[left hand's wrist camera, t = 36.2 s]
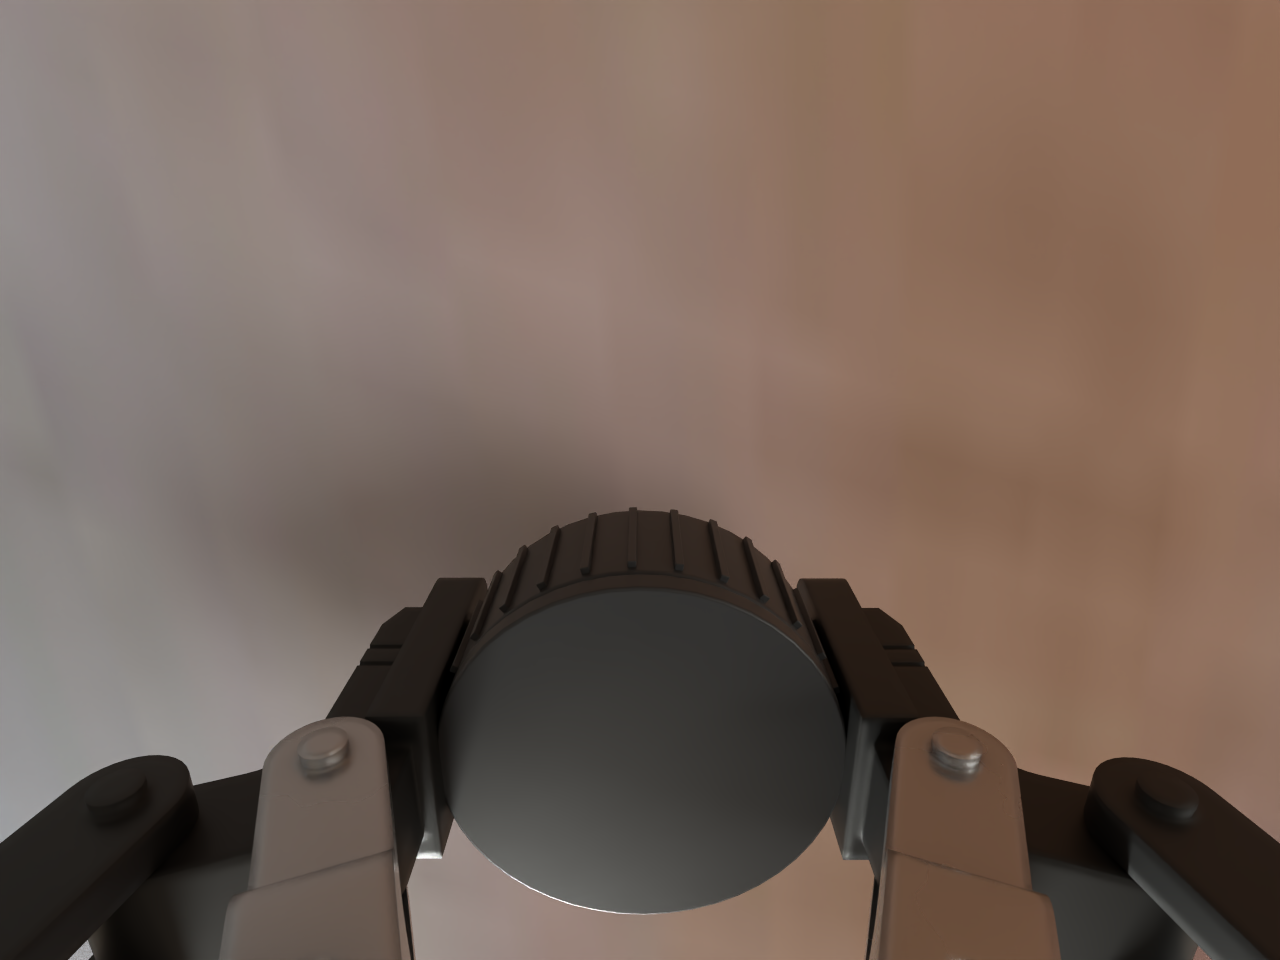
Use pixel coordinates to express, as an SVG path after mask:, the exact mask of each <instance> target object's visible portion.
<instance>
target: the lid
mask: <svg viewBox="0 0 1280 960" xmlns="http://www.w3.org/2000/svg"><path fill="white" fill-rule="evenodd" d="M450 672H453V673H455V676H454V678H453V681H452V683H451V687H450V689H449V691H448V694H447V696H446V699H445V701H444V704H443V708H442V711H441V715H440V719H439V722H438V727H437V735H438V745H439V753H440V761H441V769H442V777H443V785H444V793H445V799H446V802H447V804H448V807H449V809H450V811H451V813H452V815H453V816H454V818H455V820H456V822H457V823H458V825H459V827H460V828H461V830H462V831H463V832H464V834H465V835H466V836H467V837H468V839H469V840H470V841H471V842H472V844H473V845H474V846H475V847H476V848H477V849H478V850H479V851H480V852H481V853H482V854H483V855H484V856H485V857H486V858H487V859H488V860H489V861H490V862H491V863H493V864H494V865H495V866H497V867H498V868H499V869H501V870H502V871H503V872H504V873H506V874H507V875H508V876H510V877H512V878H513V879H515V880H517V881H518V882H520V883H522V884H524V885H525V886H527V887H529V888H531V889H533V890H535V891H537V892H539V893H542V894H544V895H546V896H548V897H551V898H554V899H556V900H559V901H562V902H565V903H568V904H571V905H575V906H579V907H584V908H588V909H592V910H597V911H605V912H612V913H620V914H661V913H672V912H679V911H685V910H692V909H696V908H700V907H704V906H708V905H712V904H716V903H719V902H721V901H724V900H727V899H730V898H732V897H735V896H738V895H740V894H742V893H744V892H746V891H748V890H750V889H752V888H755V887H757V886H759V885H760V884H762V883H764V882H765V881H767V880H768V879H770V878H772V877H773V876H775V875H776V874H778V873H779V872H781V871H782V870H783V869H784V868H786V867H787V866H788V865H789V864H791V863H792V862H793V861H794V860H796V859H797V858H798V857H799V856H800V855H801V854H802V853H803V852H804V850H805V849H806V848H807V847H808V846H809V845H810V844H811V843H812V842H813V841H814V839H815V838H816V837H817V835H818V834H819V833H820V831H821V830H822V829H823V827H824V826H825V824H826V822H827V821H828V819H829V817H830V815H831V813H832V811H833V810H834V808H835V806H836V803H837V800H838V797H839V794H840V789H841V783H842V775H843V767H844V759H845V751H846V741H847V740H846V729H845V722H844V718H843V715H842V712H841V709H840V705H839V702H838V699H837V696H836V694H838V693H840V689H839V685H838V683H837V681H836V678H835V676H834V673H833V671H832V668H831V666H830V663H829V661H828V658H827V656H826V653H825V651H824V648H823V646H822V643H821V641H820V638H819V636H818V633H817V631H816V628H815V626H814V623H813V621H812V619H811V617H810V615H809V612H808V610H807V607H806V605H805V602H804V600H803V597H802V595H801V592H800V591H799V589H798V588H796V589H794V590H793V589H792V587H791V586H790V585H789V583H788V582H787V580H786V579H785V577H784V574H783V571H782V569H781V566H780V564H779V563H778V562H777V561H776V560H774V561H773V562H771V561H770V560H769V559H768V558H767V557H766V556H765V555H763V554H762V553H761V552H760V551H758V550H757V549H756V548H755V547H754V546H753V543H752V540H751V539H749V538H748V537H745V538H744V539H741V538H740V537H738V536H736V535H735V534H733V533H731V532H730V531H727V530H725V529H723V528H720V527H718V525H717V521H714V520H711V519H710V521H709V522H706V521H702V520H699V519H696V518H692V517H689V516H685V515H679V514H678V511H677V510H670V513H667V512H659V511H637V507H632V508H629V511H626V512H614V513H609V514H604V515H599V516H597V514H596V512H595V513H591V514H589V517H588V518H587V519H584V520H581V521H578V522H575V523H572V524H569V525H567V526H564V527H562V528H559V526H558V525H557V526H555V527H553V528H551V532H550V534H548V535H546V536H545V537H543V538H542V539H540V540H538V541H537V542H535V543H534V544H532V545H531V546H529V547H528V548H527V547H526V546H525V545H524V546H522V547H521V548H520V549H519V551H518V554H517V557H516V558H515V559H514V560H513V561H512V562H511V563H510V564H509V565H508V567H507V568H506V569H505V570H504V571H503V572H502V573H501V572H500V571H497V572H496V573H495V574H494V576H493V579H492V581H491V584H490V586H489V589H488V592H487V594H486V597H485V599H484V601H481V600H478V602H477V605H476V607H475V610H474V612H473V615H472V617H471V619H470V622H469V624H468V627H467V629H466V632H465V634H464V637H463V639H462V642H461V644H460V647H459V649H458V652H457V654H456V657H455V659H454V662H453V664H452V666H451V669H450Z"/></svg>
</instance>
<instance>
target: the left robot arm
mask: <svg viewBox="0 0 1280 960" xmlns="http://www.w3.org/2000/svg"><path fill="white" fill-rule="evenodd" d="M797 588H798V589H799V591H800V592H801V595H802V597H803V600H804V602H805V605H806V607H807V610H808V612H809V615H810V617H811V619H812V621H813V623H814V626H815V628H816V631H817V633H818V636H819V638H820V641H821V643H822V646H823V648H824V651H825V653H826V656H827V658H828V661H829V663H830V666H831V668H832V671H833V673H834V676H835V678H836V681H837V683H838V685H839V689H840V693H838V694H836V696H837V699H838V702H839V705H840V709H841V712H842V715H843V718H844V722H845V729H846V740H847V741H846V751H845V759H844V767H843V775H842V783H841V789H840V794H839V797H838V800H837V803H836V806H835V808H834V810H833V811H832V813H831V815H830V818H831V822H832V825H833V828H834V832H835V835H836V838H837V841H838V845H839V848H840V851H841V854H842V858H843V860H869V861H870V864H871V867H872V870H873V873H874V882H873V889H872V895H871V903H870V912H869V921H868V930H867V940H866V949H865V958H864V960H1193V957H1194V955H1195V952H1196V950H1197V947H1198V946H1199V947H1200V948H1201V949H1202V950H1203V951H1204V952H1205V953H1206V954H1207V955H1208V956H1209V957H1210V958H1211V959H1212V960H1280V843H1279V842H1277V841H1276V840H1275V839H1274V838H1272V837H1271V836H1270V835H1268V834H1267V833H1266V832H1265V831H1263V830H1262V829H1261V828H1260V827H1258V826H1257V825H1256V824H1255V823H1253V822H1252V821H1251V820H1250V819H1248V818H1247V817H1246V816H1245V815H1243V814H1242V813H1241V812H1240V811H1238V810H1237V809H1236V808H1235V807H1233V806H1232V805H1231V804H1229V803H1228V802H1227V801H1226V800H1224V799H1223V798H1222V797H1221V796H1219V795H1218V794H1217V793H1216V792H1214V791H1213V790H1212V789H1210V788H1209V787H1208V786H1206V785H1205V784H1203V783H1202V782H1200V781H1198V780H1197V779H1195V778H1193V777H1192V776H1190V775H1188V774H1186V773H1184V772H1182V771H1180V770H1177V769H1175V768H1172V767H1170V766H1167V765H1164V764H1161V763H1158V762H1154V761H1150V760H1146V759H1139V758H1127V757H1122V758H1114V759H1110V760H1107V761H1105V762H1103V763H1101V764H1100V765H1099V766H1098V767H1097V768H1096V770H1095V772H1094V774H1093V778H1092V781H1091V785H1090V786H1086V785H1081V784H1077V783H1073V782H1068V781H1064V780H1059V779H1055V778H1050V777H1046V776H1042V775H1038V774H1034V773H1030V772H1027V771H1024V770H1022V769H1019V768H1017V765H1016V762H1015V760H1014V758H1013V756H1012V754H1011V753H1010V752H1009V750H1008V749H1007V748H1006V747H1005V746H1004V745H1003V744H1002V743H1001V742H1000V741H999V740H998V739H996V738H995V737H994V736H992V735H991V734H989V733H988V732H986V731H984V730H982V729H980V728H978V727H976V726H974V725H972V724H969V723H966V722H963V721H960V719H959V718H958V716H957V715H956V713H955V711H954V710H953V708H952V706H951V705H950V703H949V701H948V700H947V698H946V697H945V695H944V693H943V692H942V690H941V688H940V687H939V685H938V683H937V682H936V680H935V679H934V677H933V675H932V674H931V672H930V670H929V669H928V667H925V665H924V661H923V659H922V657H921V656H920V654H919V652H918V651H917V650H915V649H914V644H913V643H912V641H911V639H910V638H909V636H908V634H907V633H906V631H905V629H904V628H903V626H902V625H901V624H899V623H898V622H897V621H895V620H894V619H893V618H891V617H890V616H889V615H887V614H886V613H885V612H883V611H882V610H881V609H879V608H861V606H860V604H859V602H858V600H857V599H856V597H855V595H854V593H853V591H852V589H851V587H850V586H849V584H848V582H847V580H845V579H799V581H798V584H797ZM487 592H488V589H487V584H486V581H485V579H484V578H439V579H438V580H437V581H436V583H435V585H434V587H433V589H432V591H431V592H430V594H429V596H428V598H427V600H426V602H425V604H424V606H423V607H405V608H404V609H402V610H401V611H400V612H398V613H397V614H396V615H394V616H393V617H392V618H390V619H389V620H388V621H386V622H385V623H384V624H382V626H381V627H380V629H379V631H378V632H377V634H376V636H375V637H374V639H373V641H372V642H371V644H370V649H367V651H366V652H365V654H364V656H363V657H362V659H361V661H360V666H357V667H356V669H355V671H354V672H353V674H352V676H351V677H350V679H349V681H348V682H347V684H346V686H345V687H344V689H343V691H342V692H341V694H340V695H339V697H338V699H337V700H336V702H335V704H334V705H333V707H332V709H331V710H330V712H329V714H328V715H327V717H326V719H324V720H320V721H317V722H314V723H311V724H308V725H306V726H304V727H302V728H300V729H298V730H296V731H294V732H292V733H291V734H289V735H288V736H286V737H285V738H284V739H282V740H281V741H280V742H279V743H278V744H277V745H276V746H275V747H274V748H273V749H272V750H271V752H270V753H269V754H268V756H267V758H266V760H265V762H264V765H263V769H260V770H258V771H254V772H250V773H247V774H242V775H238V776H234V777H229V778H225V779H220V780H216V781H212V782H207V783H203V784H198V785H194V786H193V784H192V780H191V777H190V773H189V770H188V768H187V766H186V765H185V764H184V763H183V762H182V761H180V760H178V759H176V758H173V757H170V756H162V755H149V756H142V757H136V758H132V759H128V760H124V761H121V762H118V763H115V764H112V765H110V766H107V767H105V768H103V769H101V770H99V771H97V772H95V773H93V774H91V775H89V776H87V777H86V778H84V779H82V780H81V781H79V782H78V783H76V784H75V785H74V786H72V787H71V788H69V789H68V790H67V791H66V792H64V793H63V794H62V795H61V796H59V797H58V798H57V799H56V800H54V801H53V802H52V803H51V804H49V805H48V806H47V807H46V808H44V809H43V810H42V811H40V812H39V813H38V814H37V815H35V816H34V817H33V818H32V819H30V820H29V821H28V822H27V823H25V824H24V825H23V826H22V827H20V828H19V829H18V830H17V831H15V832H14V833H13V834H12V835H10V836H9V837H8V838H6V839H5V840H4V841H3V842H1V843H0V960H68V959H69V958H70V957H71V956H72V955H73V954H74V953H75V952H76V951H77V950H78V949H79V948H80V947H81V946H82V945H83V944H84V943H85V942H86V941H87V940H88V942H89V944H90V947H91V950H92V952H93V955H92V957H91V958H90V959H89V960H416V958H415V949H414V940H413V930H412V921H411V912H410V903H409V895H408V889H407V884H408V881H409V878H410V875H411V872H412V869H413V866H414V863H415V860H416V858H442V856H443V852H444V849H445V846H446V842H447V839H448V836H449V832H450V829H451V826H452V822H453V819H454V816H453V815H452V813H451V811H450V809H449V807H448V804H447V802H446V799H445V793H444V785H443V777H442V769H441V761H440V753H439V745H438V735H437V727H438V722H439V719H440V715H441V711H442V708H443V704H444V701H445V699H446V696H447V694H448V691H449V689H450V687H451V683H452V681H453V678H454V676H455V673H453V672H450V669H451V666H452V664H453V662H454V659H455V657H456V654H457V652H458V649H459V647H460V644H461V642H462V639H463V637H464V634H465V632H466V629H467V627H468V624H469V622H470V619H471V617H472V615H473V612H474V610H475V607H476V605H477V602H478V600H481V601H484V599H485V597H486V594H487Z"/></svg>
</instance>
